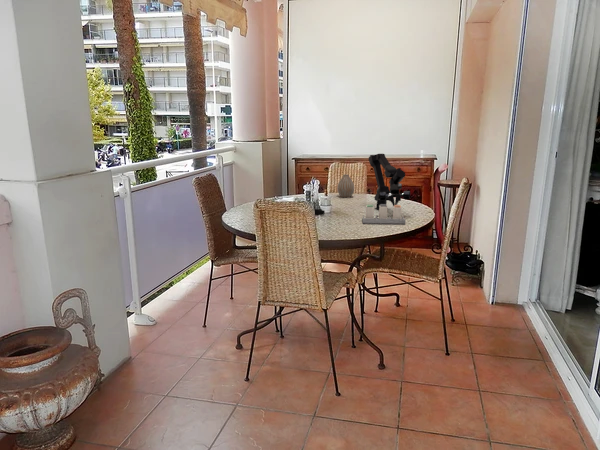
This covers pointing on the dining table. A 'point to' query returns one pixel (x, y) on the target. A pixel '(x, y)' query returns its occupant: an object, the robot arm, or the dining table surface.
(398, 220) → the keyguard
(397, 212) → the key
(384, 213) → the key
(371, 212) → the key
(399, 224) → the key mat
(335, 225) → the dining table surface
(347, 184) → the vase
